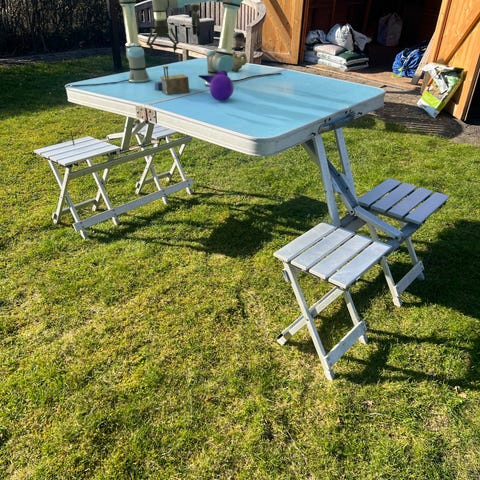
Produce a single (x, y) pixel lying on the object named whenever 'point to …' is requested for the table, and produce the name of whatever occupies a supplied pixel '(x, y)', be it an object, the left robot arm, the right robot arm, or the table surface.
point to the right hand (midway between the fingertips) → (164, 56)
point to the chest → (175, 86)
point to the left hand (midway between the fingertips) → (196, 35)
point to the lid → (173, 77)
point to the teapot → (238, 61)
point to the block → (158, 86)
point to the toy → (219, 85)
